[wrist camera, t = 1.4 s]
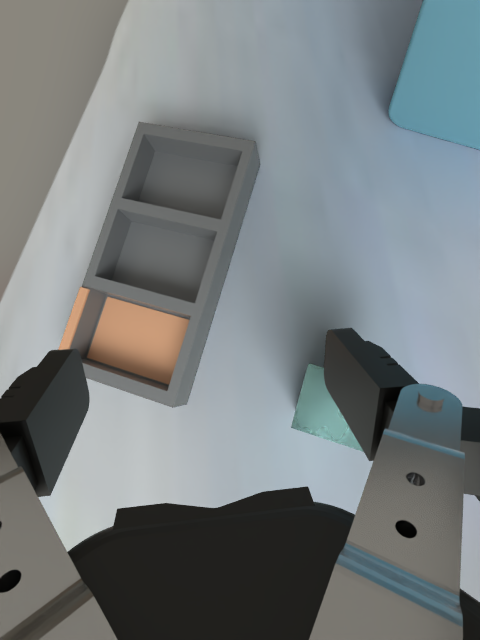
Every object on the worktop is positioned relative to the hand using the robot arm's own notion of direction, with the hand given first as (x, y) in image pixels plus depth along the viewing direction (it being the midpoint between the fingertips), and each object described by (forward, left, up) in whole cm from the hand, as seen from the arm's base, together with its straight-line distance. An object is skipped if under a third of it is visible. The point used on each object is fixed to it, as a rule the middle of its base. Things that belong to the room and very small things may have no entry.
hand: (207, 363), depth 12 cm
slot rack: (-6, -11, -18) cm, 22 cm away
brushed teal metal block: (+1, +5, -18) cm, 19 cm away
